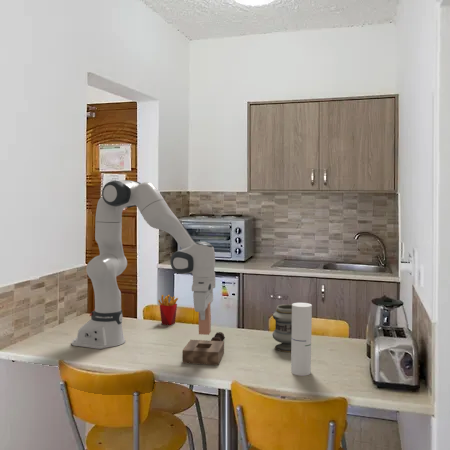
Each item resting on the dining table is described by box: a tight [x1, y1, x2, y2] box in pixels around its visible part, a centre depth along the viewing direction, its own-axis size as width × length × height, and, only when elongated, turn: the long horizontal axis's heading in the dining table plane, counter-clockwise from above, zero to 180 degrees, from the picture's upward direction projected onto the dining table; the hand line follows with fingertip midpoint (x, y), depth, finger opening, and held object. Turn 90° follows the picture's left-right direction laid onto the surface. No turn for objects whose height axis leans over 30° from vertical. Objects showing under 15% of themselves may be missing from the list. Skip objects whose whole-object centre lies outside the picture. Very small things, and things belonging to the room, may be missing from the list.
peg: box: [198, 302, 212, 336], centre depth 194 cm, size 4×4×12 cm
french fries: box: [157, 294, 179, 327], centre depth 244 cm, size 9×8×15 cm
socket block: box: [181, 339, 225, 366], centre depth 195 cm, size 14×14×5 cm
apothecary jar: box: [272, 303, 292, 353], centre depth 208 cm, size 12×12×18 cm
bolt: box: [210, 331, 226, 341], centre depth 213 cm, size 6×5×15 cm
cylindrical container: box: [290, 302, 313, 377], centre depth 180 cm, size 7×7×25 cm
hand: (204, 317), depth 194 cm, fingers closed on peg, 4 cm apart
